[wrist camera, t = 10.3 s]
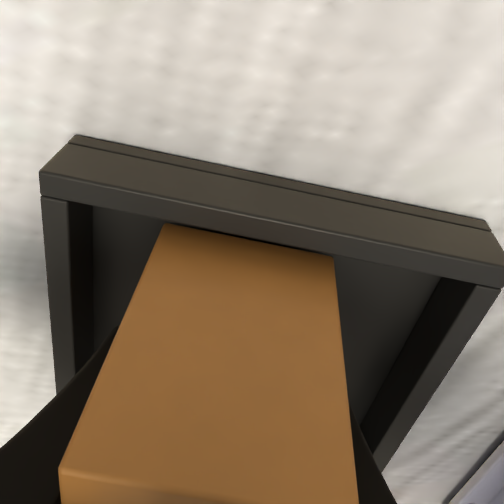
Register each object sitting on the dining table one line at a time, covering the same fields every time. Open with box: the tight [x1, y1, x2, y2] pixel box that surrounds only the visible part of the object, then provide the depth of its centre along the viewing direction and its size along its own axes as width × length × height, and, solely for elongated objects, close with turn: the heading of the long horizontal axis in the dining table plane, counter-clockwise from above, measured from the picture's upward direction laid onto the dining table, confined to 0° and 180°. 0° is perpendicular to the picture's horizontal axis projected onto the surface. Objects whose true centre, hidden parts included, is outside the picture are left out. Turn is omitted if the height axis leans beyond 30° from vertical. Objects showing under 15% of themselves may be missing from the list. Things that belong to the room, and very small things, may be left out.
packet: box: [58, 223, 359, 504], centre depth 10 cm, size 4×6×6 cm, turn 169°
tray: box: [39, 135, 504, 473], centre depth 13 cm, size 9×10×2 cm
